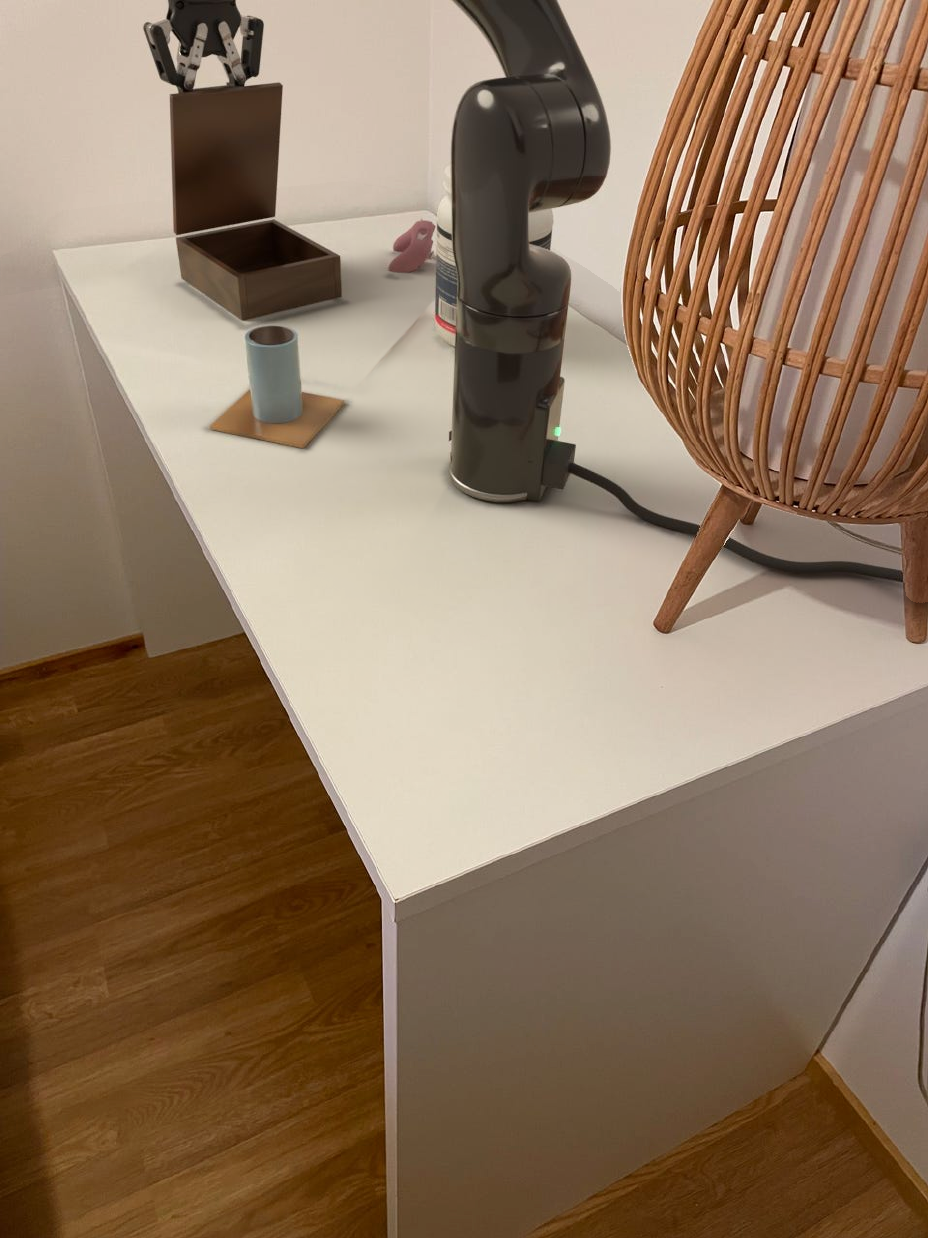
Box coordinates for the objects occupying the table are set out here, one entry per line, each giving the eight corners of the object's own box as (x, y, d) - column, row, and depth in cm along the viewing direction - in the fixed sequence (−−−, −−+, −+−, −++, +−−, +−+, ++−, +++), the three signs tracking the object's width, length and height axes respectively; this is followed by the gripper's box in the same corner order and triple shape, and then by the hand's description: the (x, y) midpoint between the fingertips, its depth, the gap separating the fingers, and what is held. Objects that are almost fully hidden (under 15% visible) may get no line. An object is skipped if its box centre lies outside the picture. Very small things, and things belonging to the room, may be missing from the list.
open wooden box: (342, 303, 121) (340, 255, 117) (242, 327, 114) (237, 277, 110) (277, 264, 130) (274, 218, 127) (182, 284, 123) (175, 237, 120)
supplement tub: (545, 319, 120) (561, 160, 108) (538, 364, 110) (555, 194, 98) (441, 310, 121) (446, 150, 109) (425, 353, 111) (429, 183, 99)
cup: (311, 405, 99) (306, 329, 94) (289, 427, 96) (283, 349, 90) (266, 396, 100) (259, 320, 95) (243, 418, 97) (235, 340, 92)
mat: (344, 403, 101) (344, 399, 101) (303, 448, 93) (303, 444, 93) (256, 386, 103) (256, 382, 103) (209, 429, 95) (209, 425, 95)
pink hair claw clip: (416, 291, 129) (441, 244, 125) (385, 274, 128) (409, 226, 124) (419, 264, 137) (443, 219, 133) (390, 248, 135) (413, 202, 131)
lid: (283, 84, 113) (261, 65, 115) (172, 97, 106) (152, 75, 108) (275, 216, 126) (256, 196, 128) (176, 235, 119) (157, 213, 121)
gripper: (148, -47, 98) (173, 135, 109) (273, -51, 106) (284, 121, 116) (117, -56, 103) (144, 121, 114) (239, -59, 110) (253, 107, 121)
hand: (215, 120), depth 115 cm, fingers closed on lid, 5 cm apart
